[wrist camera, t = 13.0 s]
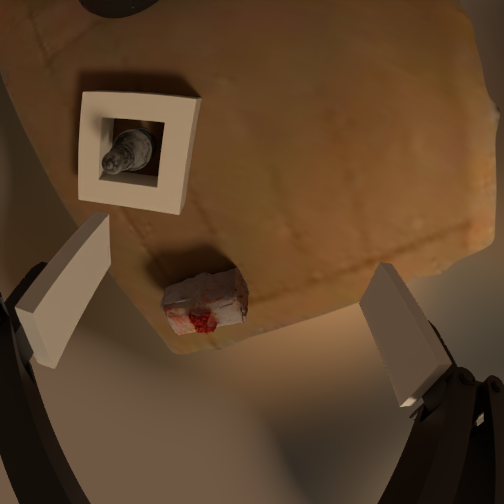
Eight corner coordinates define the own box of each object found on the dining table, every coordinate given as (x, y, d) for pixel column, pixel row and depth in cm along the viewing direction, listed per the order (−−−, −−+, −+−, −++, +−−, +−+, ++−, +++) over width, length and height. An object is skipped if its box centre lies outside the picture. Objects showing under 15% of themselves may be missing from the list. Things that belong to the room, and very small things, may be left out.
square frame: (97, 90, 34) (82, 91, 31) (201, 97, 36) (196, 99, 33) (91, 188, 42) (78, 199, 39) (184, 202, 45) (179, 214, 41)
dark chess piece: (156, 166, 41) (128, 195, 31) (120, 161, 41) (84, 189, 30) (161, 127, 38) (132, 144, 28) (123, 123, 38) (85, 140, 27)
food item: (183, 310, 56) (175, 349, 48) (164, 278, 52) (151, 316, 44) (251, 292, 54) (252, 332, 46) (235, 257, 50) (234, 295, 42)
